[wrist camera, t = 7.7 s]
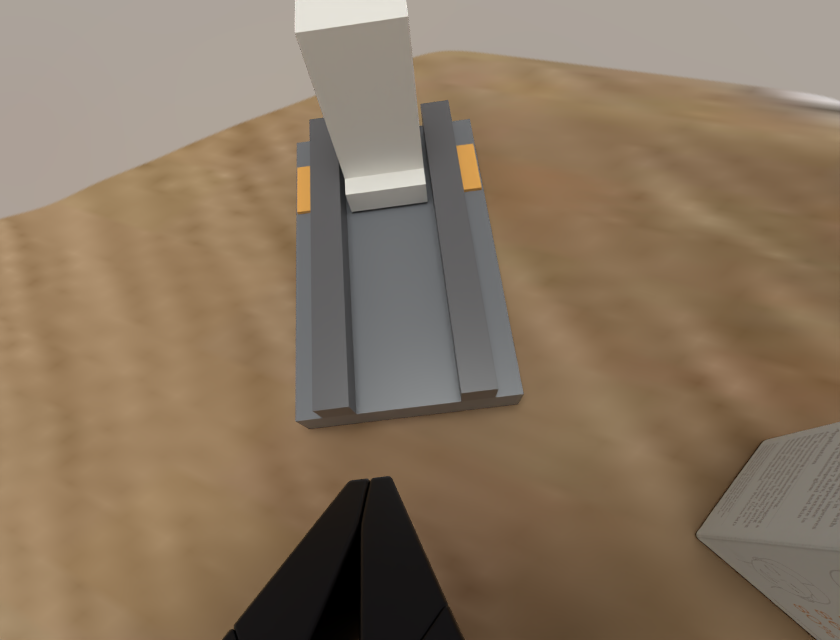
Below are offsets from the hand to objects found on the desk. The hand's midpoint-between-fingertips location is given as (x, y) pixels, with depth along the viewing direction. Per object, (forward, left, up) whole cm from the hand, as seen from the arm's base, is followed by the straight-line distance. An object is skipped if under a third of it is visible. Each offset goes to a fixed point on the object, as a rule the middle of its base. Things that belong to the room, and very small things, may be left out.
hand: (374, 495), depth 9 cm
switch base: (+10, -7, -12) cm, 17 cm away
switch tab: (+14, -10, -10) cm, 20 cm away
